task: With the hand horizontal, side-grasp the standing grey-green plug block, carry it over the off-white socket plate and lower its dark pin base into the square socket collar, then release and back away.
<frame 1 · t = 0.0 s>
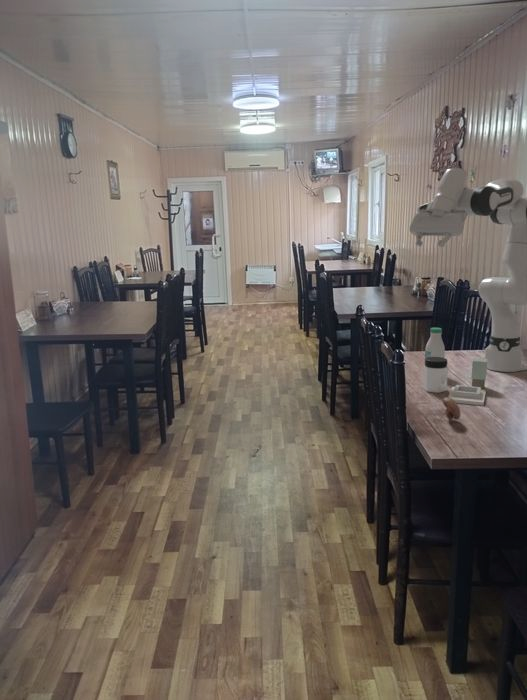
hand: (429, 245, 198), 54 cm above the table, tool tilted 30°, fingers open, 8 cm apart
mushroom: (450, 421, 182), on the table
jar: (434, 390, 215), on the table
plug: (478, 387, 217), on the table
milk bottle: (433, 375, 235), on the table
socket: (466, 397, 205), on the table
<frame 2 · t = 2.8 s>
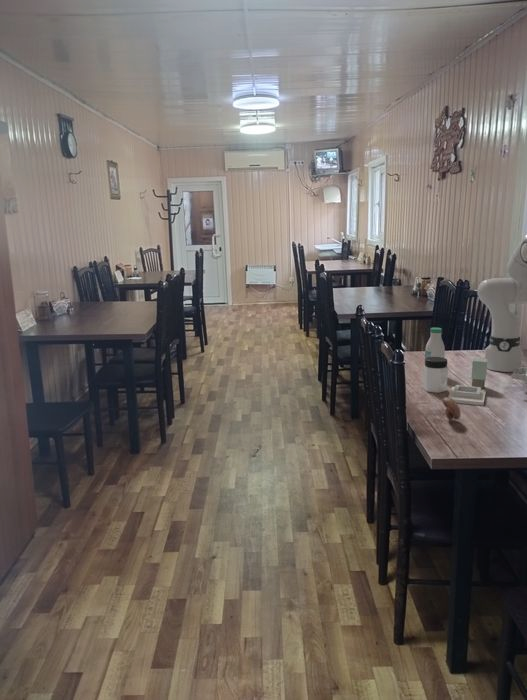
hand: (512, 372, 210), 7 cm above the table, tool horizontal, fingers open, 8 cm apart
nothing on the table moved.
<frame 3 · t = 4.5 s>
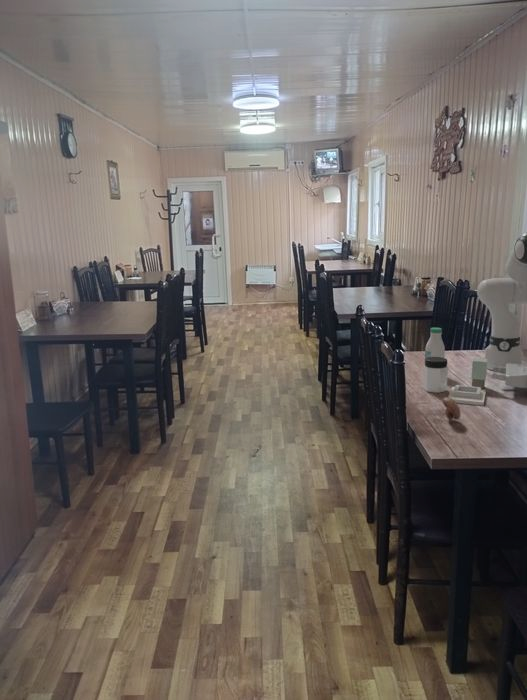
hand: (492, 372, 213), 6 cm above the table, tool horizontal, fingers open, 8 cm apart
nothing on the table moved.
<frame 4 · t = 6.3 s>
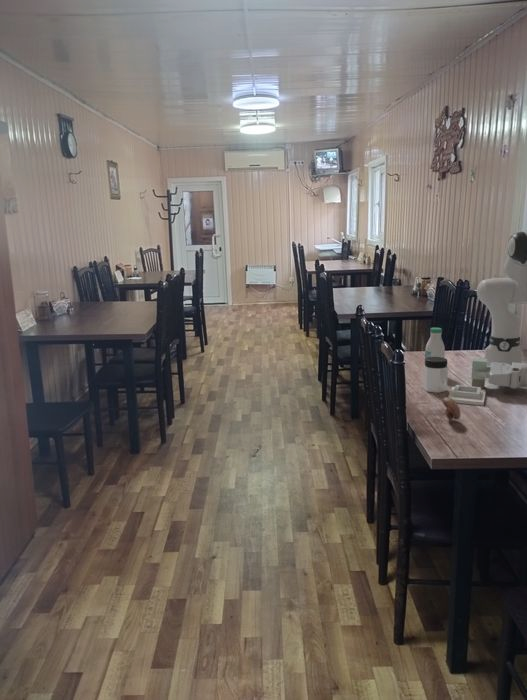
hand: (476, 371, 216), 7 cm above the table, tool horizontal, fingers closed on plug, 5 cm apart
plug: (478, 387, 217), on the table, touching gripper
everything else where it was.
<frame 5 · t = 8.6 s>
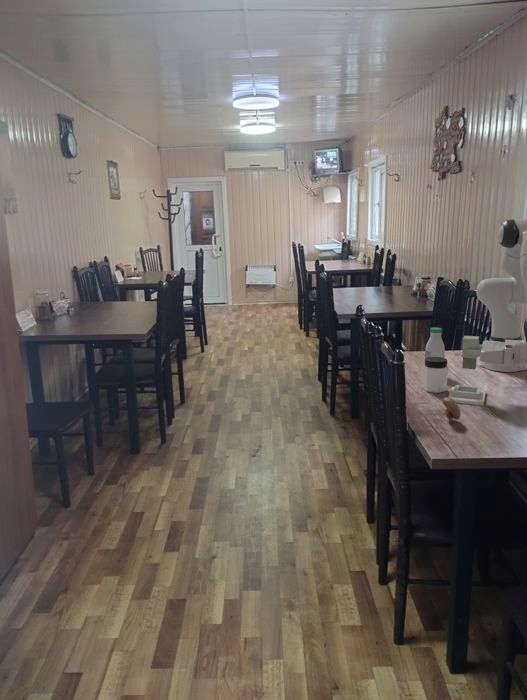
hand: (467, 349, 202), 18 cm above the table, tool horizontal, fingers closed on plug, 5 cm apart
plug: (469, 367, 203), point 11 cm above the table, touching gripper
everything else where it was.
when the fingers open (8 cm above the table, at t = 11.2 s): plug drops 1 cm, resting in socket.
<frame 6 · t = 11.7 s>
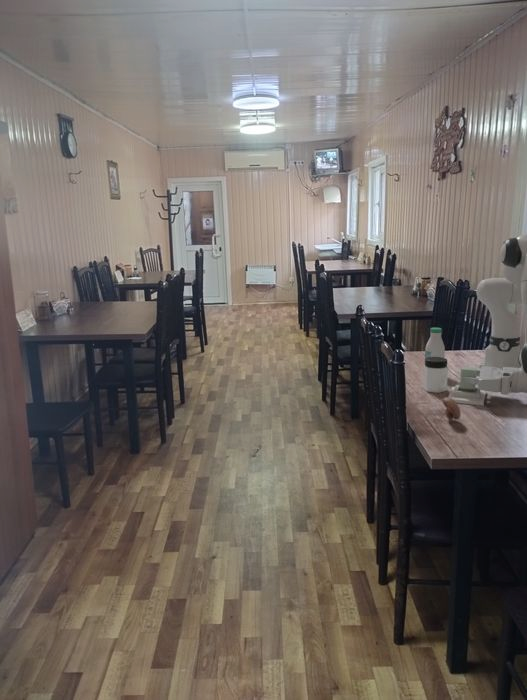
hand: (465, 375, 204), 8 cm above the table, tool horizontal, fingers open, 8 cm apart
plug: (467, 397, 205), resting in socket
everything else where it was.
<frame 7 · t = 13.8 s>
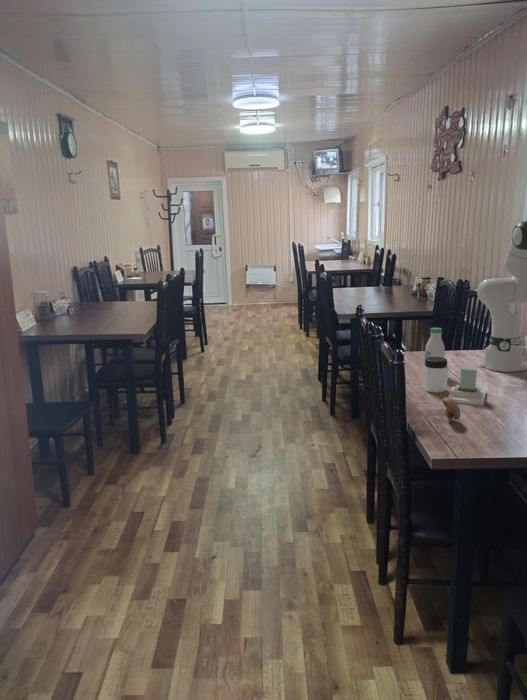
hand: (510, 344, 198), 20 cm above the table, tool horizontal, fingers open, 8 cm apart
nothing on the table moved.
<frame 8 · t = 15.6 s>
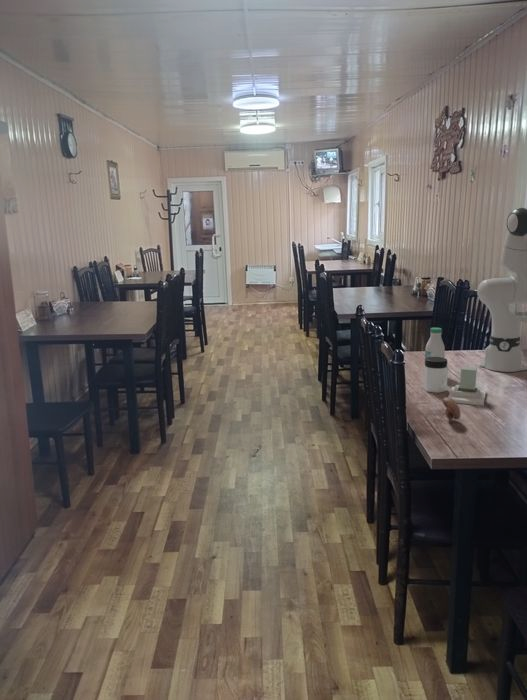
hand: (516, 316, 197), 30 cm above the table, tool horizontal, fingers open, 8 cm apart
nothing on the table moved.
at the end: plug 0.0 cm off-centre on the socket, point 0.0 cm above the socket's base; plug tilted 0°; the gripper is holding nothing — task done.
